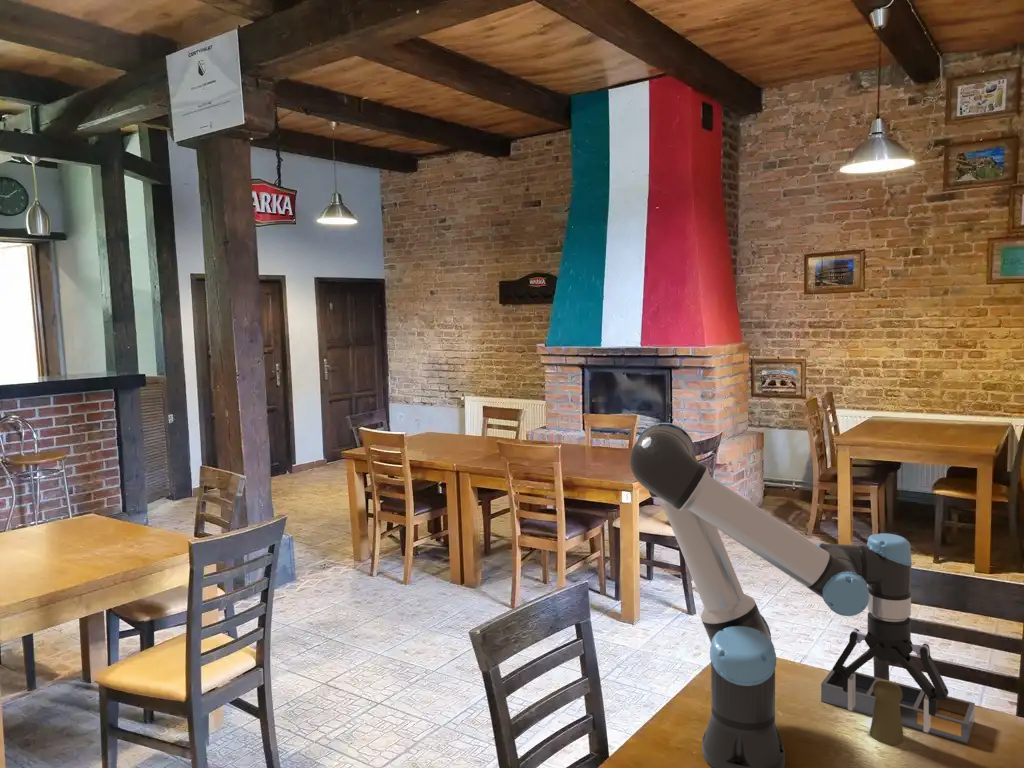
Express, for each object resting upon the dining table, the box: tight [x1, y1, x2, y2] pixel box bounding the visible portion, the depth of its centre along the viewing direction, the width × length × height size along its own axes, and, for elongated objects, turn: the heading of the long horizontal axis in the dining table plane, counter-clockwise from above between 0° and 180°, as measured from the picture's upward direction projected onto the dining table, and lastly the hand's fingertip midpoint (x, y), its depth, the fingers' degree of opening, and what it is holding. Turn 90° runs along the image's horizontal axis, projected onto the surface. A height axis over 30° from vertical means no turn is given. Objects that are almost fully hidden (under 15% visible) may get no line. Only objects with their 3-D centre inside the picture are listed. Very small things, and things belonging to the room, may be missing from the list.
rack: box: [820, 668, 976, 745], centre depth 155 cm, size 27×10×4 cm, turn 51°
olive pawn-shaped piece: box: [869, 679, 905, 746], centre depth 146 cm, size 6×6×11 cm
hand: (888, 718), depth 146 cm, fingers open, 13 cm apart
